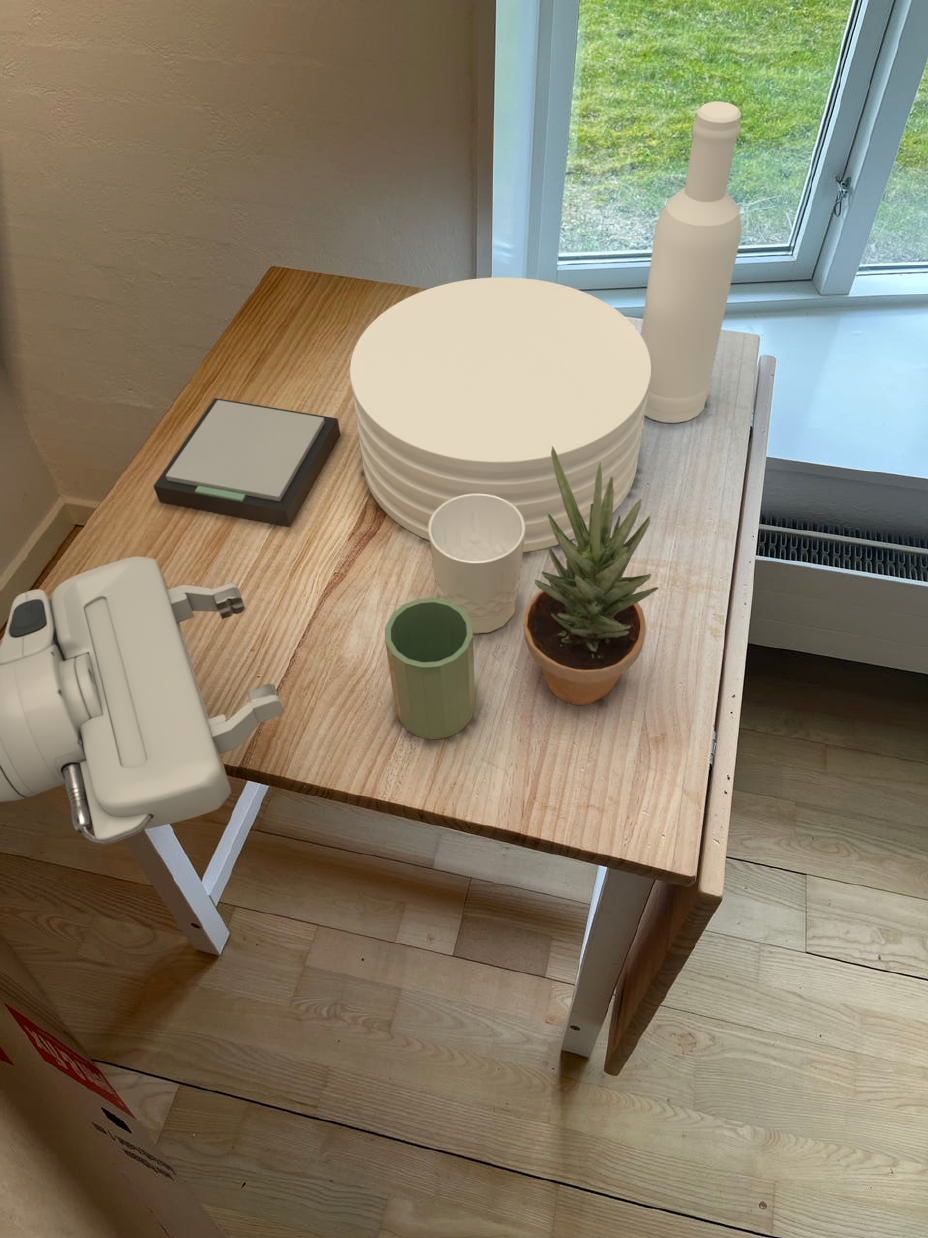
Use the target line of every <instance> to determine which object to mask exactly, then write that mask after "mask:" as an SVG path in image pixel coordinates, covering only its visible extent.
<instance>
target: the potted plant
mask: <svg viewBox="0 0 928 1238" xmlns="http://www.w3.org/2000/svg"><path fill="white" fill-rule="evenodd" d="M551 456H552V460H553V464H554V470H555V474H556V478H557V482H558V485H559V489H560V492H561V496H562V499H563V503H564V507H565V510H566V512H567V515H568V517H569V520H570V523H571V526H572V529H573V532H574V535H575V538H574V539H575V540H576V543H577V545H576V544H575V543H574V542H572V540H569V539H568V538H567V537H566V535H565V534H564V533H563V532H562V530H561V529H560V528H559V526H558V525H557V524H556V522H555V521H554V519H553V518H552V517H551V515H550V514H549V513H548V518H549V522H550V524H551V527H552V530H553V533H554V535H555V537H556V539H557V541H558V543H559V545H558V546H559V547H560V549H561V551H562V553H563V555H564V557H565V559H566V560H565V564H566V568H565V567H564V565H563V564H562V563H561V562H560V559H558V557H557V556H556V554H555V552H554V551H553V549H552V547H547V548H546V549H547V550H548V553H549V554H548V555H550V558H551V561H552V563H553V566H554V567H555V570H556V571H557V574H558V575H555V574H552V573H549V572H545V571H541V574H542V576H543V578H544V579H546V580H547V581H548V582H549V584H547V583H544V582H542V581H540V580H538V579H534V585H536V587H537V588H539V589H540V590H539V592H537V593H535V595H534V596H533V597H532V599H531V600H530V602H529V603H528V605H527V607H526V610H525V612H524V616H523V631H524V640H525V643H526V646H527V648H528V651H529V652H530V654H531V656H532V658H533V659H534V661H535V662H536V663H537V664H538V665H539V667H540V669H541V671H542V674H543V676H544V679H545V682H546V685H547V687H548V689H549V690H550V691H551V693H553V695H554V696H556V697H557V698H558V699H559V700H561V701H563V702H566V703H568V704H571V705H576V706H578V705H579V706H583V705H590V704H592V703H594V702H596V701H599V700H601V699H602V698H605V697H606V696H607V695H608V694H609V693H610V692H611V691H612V689H613V688H614V686H615V685H616V683H617V682H618V681H619V679H620V678H621V677H622V675H623V674H624V673H626V672H627V671H628V670H629V669H630V668H631V667H632V666H633V665H634V663H635V662H636V661H637V660H638V658H639V656H640V654H641V653H642V650H643V647H644V646H643V645H644V643H645V638H646V632H647V628H646V627H647V626H646V618H645V614H644V610H643V607H641V605H640V604H639V603H638V602H641V601H642V600H644V599H645V598H647V597H649V596H650V595H651V594H653V593H654V592H656V591H657V590H659V587H658V586H656V587H655V586H654V587H652V588H649V589H645V590H642V591H639V592H636V590H637V589H638V588H640V587H641V586H643V585H644V584H645V583H646V582H648V581H650V579H651V577H652V574H651V573H648V574H644V575H636V576H624V573H625V571H626V570H627V568H628V565H629V563H630V561H631V559H632V556H633V555H634V553H635V551H636V550H637V548H638V546H639V545H640V543H641V541H642V539H643V538H644V536H645V534H646V532H647V530H648V528H649V526H650V523H651V516H650V515H648V517H647V518H646V519H645V520H644V522H643V523H642V524H641V525H640V526H639V528H637V530H636V531H635V533H633V535H632V536H631V537H630V538H629V539H628V537H629V535H630V533H631V532H632V529H633V527H634V525H635V522H636V521H637V518H638V515H639V512H640V510H641V506H642V501H643V498H640V499H639V500H638V501H637V502H636V503H635V504H634V505H633V506H632V508H631V509H630V511H629V513H628V514H627V516H626V517H625V518H624V520H623V521H622V522H621V517H622V516H621V515H618V517H617V520H616V523H615V525H614V528H613V530H612V525H613V524H612V523H613V514H614V512H613V498H614V489H613V476H611V477H610V480H609V483H608V486H607V489H606V492H605V495H604V499H603V502H602V506H601V492H602V470H601V462H600V463H599V466H598V471H597V475H596V481H595V491H594V498H593V504H591V509H590V518H589V529H588V530H587V528H586V525H585V522H584V520H583V518H582V516H581V514H580V512H579V509H578V507H577V504H576V501H575V499H574V496H573V494H572V491H571V489H570V486H569V484H568V481H567V479H566V476H565V474H564V472H563V469H562V467H561V465H560V462H559V459H558V456H557V454H556V451H555V450H554V447H553V446H552V451H551ZM620 522H621V524H620ZM612 531H613V532H612Z"/></svg>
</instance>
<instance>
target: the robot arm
mask: <svg viewBox="0 0 928 1238" xmlns="http://www.w3.org/2000/svg"><path fill="white" fill-rule="evenodd" d="M245 609H246V606H245V603H244V600H243V598H242V595H241V592H240V589H239V586H238V584H237V583H235V582H229V583H226V584H224V585H220V586H216V587H213V588H211V587H205V586H198V585H197V586H196V585H190V584H189V585H188V584H181V585H178V586H175V587H171V588H169V586H168V583H167V580H166V577H165V575H164V573H163V571H162V569H161V566H160V564H159V562H158V561H157V559H155V558H152V557H147V556H141V555H136V556H130V557H126V558H122V559H119V560H118V559H117V560H115V561H113V562H109V563H106V564H103V565H100V566H97V567H95V568H92V569H89V570H86V571H83V572H81V573H78V574H76V575H73V576H71V577H69V578H67V579H65V580H64V581H62V582H61V583H60V584H59V585H58V586H56V588H55V589H54V591H53V592H52V594H51V598H50V597H49V596H48V594H47V593H46V592H45V590H44V589H39V588H37V589H31V590H28V591H26V592H22V593H20V594H18V595H16V597H15V598H14V599H13V602H12V604H11V608H10V612H9V616H8V620H7V622H6V623H7V624H6V627H5V631H4V634H3V637H2V640H1V644H0V803H3V802H14V801H22V800H25V799H28V798H31V797H33V796H36V795H39V794H42V793H45V792H48V791H50V790H53V789H56V788H59V787H62V786H64V785H65V790H66V794H67V797H68V800H69V803H70V807H71V811H70V817H71V823H72V825H73V828H74V829H75V832H77V833H82V834H83V836H84V838H86V839H87V840H88V841H90V842H92V843H96V844H101V845H109V844H114V843H117V842H119V841H122V840H125V839H127V838H130V837H132V836H133V837H134V836H135V835H138V834H139V833H141V832H142V831H143V830H147V829H153V828H158V827H162V826H166V825H169V824H170V825H171V824H175V823H179V822H183V821H186V820H190V819H194V818H197V817H200V816H203V815H207V814H209V813H212V812H215V811H217V810H219V809H220V808H221V807H222V806H223V804H224V803H225V802H226V801H227V800H228V798H229V797H230V795H231V794H232V788H231V784H230V780H229V778H228V775H227V771H226V768H225V765H224V762H223V759H222V755H221V754H224V753H226V752H229V751H231V750H235V749H238V748H239V747H240V745H242V743H244V741H245V740H247V738H248V737H249V736H250V735H251V734H252V733H253V732H254V731H255V729H257V727H258V726H259V724H261V723H263V722H267V721H269V720H271V719H272V720H273V719H274V718H277V717H280V716H281V715H282V714H283V713H284V708H283V705H282V702H281V699H280V696H279V694H278V691H277V689H276V686H275V685H274V684H273V683H267V684H263V685H262V686H261V688H260V687H256V688H252V689H250V690H247V691H246V692H247V696H248V699H249V701H247V703H245V705H243V706H242V707H240V709H238V711H236V712H235V713H234V714H233V715H232V716H231V717H229V719H228V718H227V716H226V714H224V713H221V714H219V715H216V716H214V717H211V718H210V716H209V714H208V711H207V707H206V704H205V701H204V697H203V694H202V691H201V689H200V685H199V682H198V678H197V676H196V672H195V669H194V665H193V663H192V659H191V656H190V653H189V649H188V646H187V643H186V640H185V637H184V633H183V630H182V626H181V624H180V623H182V622H185V621H187V620H190V619H193V618H194V617H195V613H194V612H212V613H213V612H217V613H219V615H220V618H221V620H225V619H227V618H230V617H232V616H233V615H239V614H241V613H243V612H244V611H245ZM92 829H93V832H92V831H91V830H92Z"/></svg>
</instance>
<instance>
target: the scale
mask: <svg viewBox="0 0 928 1238" xmlns="http://www.w3.org/2000/svg"><path fill="white" fill-rule="evenodd" d="M340 436H341V431H340V424H339V420H338V418H337V417H332V416H325V415H320V414H313V413H307V412H301V411H296V410H290V409H283V408H278V407H272V406H265V405H259V404H254V403H248V402H242V401H235V400H231V399H230V400H229V399H224V398H218V397H214V398H213V400H212V401H211V402H210V404H209V405H208V407H207V408H206V410H205V411H204V413H203V414H202V416H201V417H200V418H199V420H198V421H197V422H196V424H195V425H194V427H193V428H192V430H191V431H190V433H189V434H188V435H187V436H186V438H185V440H184V441H183V443H182V444H181V446H180V447H179V448H178V450H177V451H176V453H175V454H174V455H173V457H172V459H171V460H170V461H169V463H168V464H167V466H166V467H165V468H164V470H163V472H162V473H161V474H160V476H159V477H158V479H157V480H156V482H155V483H154V484H153V489H154V491H155V494H156V496H157V499H158V502H159V503H161V504H162V503H163V504H168V505H173V506H177V507H184V508H188V509H193V510H199V511H204V512H208V513H209V512H210V513H214V514H218V515H219V514H221V515H225V516H230V517H235V518H236V517H237V518H241V519H246V520H251V521H256V522H260V523H261V522H262V523H267V524H271V525H277V526H283V527H288V528H290V527H291V526H292V524H293V522H294V520H295V518H296V516H297V515H298V512H299V511H300V510H301V507H302V505H303V504H304V502H305V500H306V498H307V496H308V495H309V493H310V491H311V489H312V487H313V485H314V483H315V482H316V480H317V478H318V476H319V474H320V472H321V471H322V469H323V467H324V465H325V463H326V462H327V460H328V458H329V456H330V454H331V452H332V451H333V448H334V447H335V445H336V443H337V442H338V439H339V438H340Z"/></svg>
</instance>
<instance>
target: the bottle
mask: <svg viewBox="0 0 928 1238" xmlns="http://www.w3.org/2000/svg"><path fill="white" fill-rule="evenodd" d="M741 117H742V113H741V111H740V109H739V107H737V106H736V105H734V104H733V103H730V102H726V101H710V102H706V103H704V104H702V105H701V106H700V107H698V108H697V110H696V115H695V119H694V121H693V123H692V128H691V131H692V135H693V136H692V141H691V146H690V152H689V158H688V166H687V173H686V178H685V184H684V188H682V189H681V190H679V191H678V192H676V193H675V194H673V195H672V196H671V197H670V198H668V200H666V202H665V205H664V207H663V209H662V211H661V213H660V215H659V218H658V219H657V222H656V225H655V228H654V236H653V241H652V251H651V257H650V264H649V271H648V278H647V279H648V281H647V286H646V294H645V301H644V307H643V315H642V323H641V331H640V335H641V336H642V338H643V340H644V342H645V344H646V346H647V349H648V351H649V355H650V360H651V378H650V385H649V390H648V397H647V404H646V410H645V415H644V417H647V418H649V419H650V420H654V421H657V422H661V423H667V424H668V423H669V424H670V423H671V424H677V423H683V422H688V421H690V420H692V419H695V418H697V417H699V415H700V414H701V413H702V412H703V411H704V409H705V405H706V402H707V399H708V396H709V392H710V388H711V383H712V373H713V369H714V365H715V360H716V354H717V351H718V350H717V349H718V345H719V342H720V341H719V340H720V336H721V331H722V327H723V326H722V325H723V321H724V318H725V312H726V308H727V303H728V297H729V293H730V288H731V285H732V284H731V283H732V280H733V274H734V270H735V266H736V260H737V256H738V251H739V246H740V243H741V237H742V233H743V229H742V228H743V227H742V219H741V214H740V208H739V206H738V204H737V202H736V201H735V200H734V199H733V197H732V196H731V195H730V194H729V193H728V192H727V190H728V189H727V188H728V182H729V179H730V173H731V168H732V163H733V157H734V153H735V148H736V141H737V139H738V137H739V134H740V131H741V124H740V121H741Z"/></svg>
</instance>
